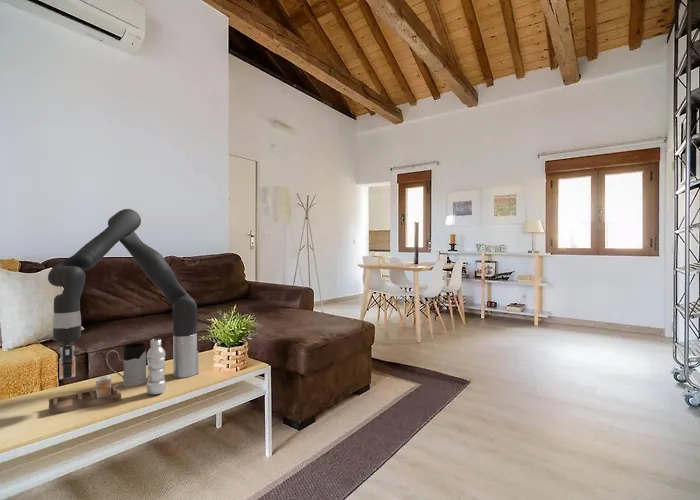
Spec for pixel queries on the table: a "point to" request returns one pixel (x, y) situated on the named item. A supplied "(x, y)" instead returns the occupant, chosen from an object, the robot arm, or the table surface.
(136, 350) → the glass holder
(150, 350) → the plastic bottle
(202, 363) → the table surface
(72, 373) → the wood-topped grey cube
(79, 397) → the brown wooden rack
